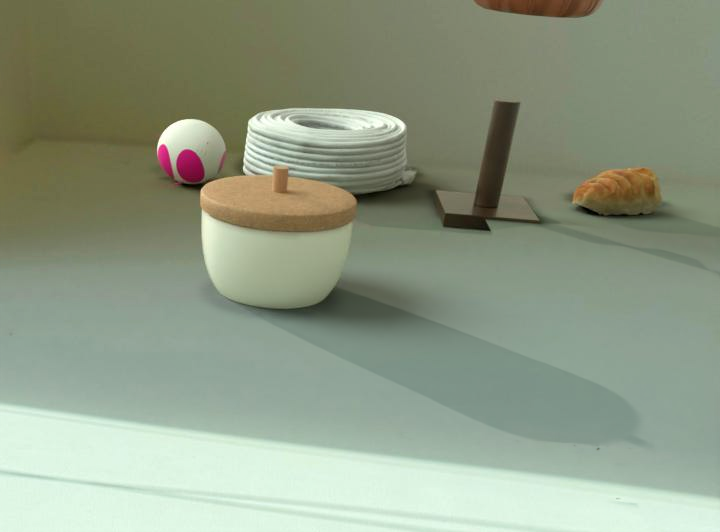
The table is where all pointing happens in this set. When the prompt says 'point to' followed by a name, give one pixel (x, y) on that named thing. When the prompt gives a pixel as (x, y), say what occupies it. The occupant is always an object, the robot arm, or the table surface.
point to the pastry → (620, 192)
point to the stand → (488, 180)
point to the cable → (330, 147)
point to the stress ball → (191, 151)
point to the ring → (544, 7)
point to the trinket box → (275, 238)
